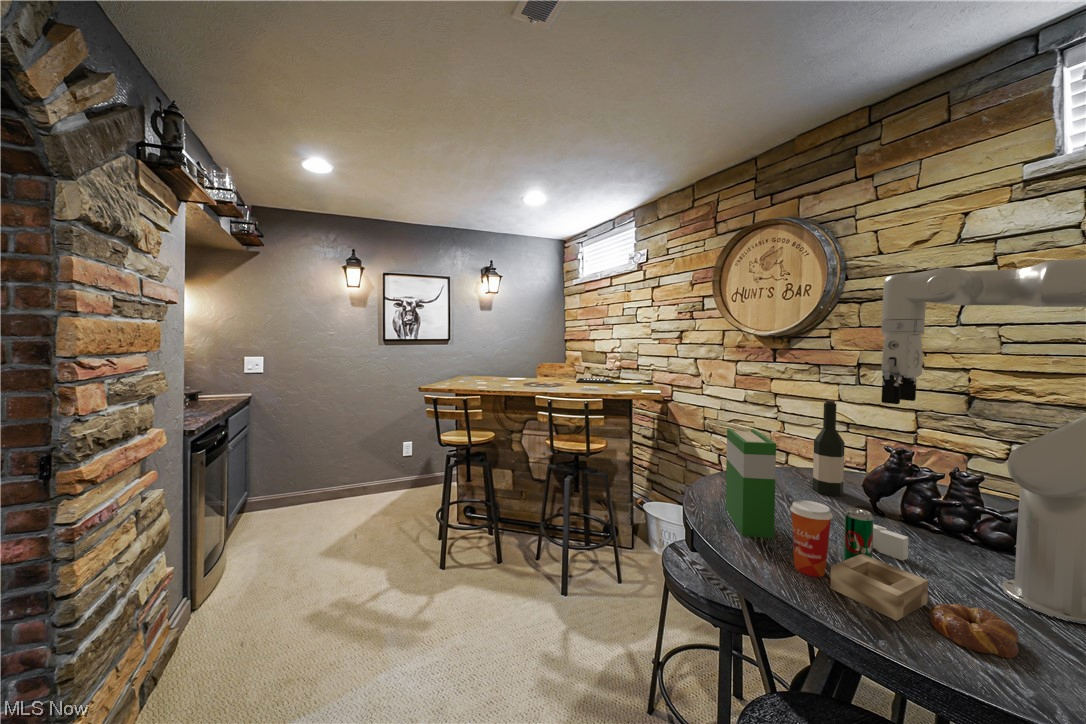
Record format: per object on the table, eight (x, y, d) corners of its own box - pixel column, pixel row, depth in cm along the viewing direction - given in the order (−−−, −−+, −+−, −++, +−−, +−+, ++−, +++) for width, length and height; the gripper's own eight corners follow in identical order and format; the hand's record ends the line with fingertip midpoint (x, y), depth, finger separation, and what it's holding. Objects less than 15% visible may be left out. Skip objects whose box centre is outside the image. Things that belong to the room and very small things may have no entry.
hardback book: (725, 508, 123) (727, 428, 122) (752, 510, 122) (754, 429, 121) (742, 535, 106) (744, 442, 105) (773, 538, 105) (776, 443, 103)
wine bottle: (806, 488, 140) (808, 399, 139) (825, 486, 143) (827, 398, 141) (830, 497, 132) (833, 403, 131) (849, 494, 135) (852, 401, 133)
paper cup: (780, 564, 92) (781, 502, 92) (805, 558, 95) (806, 497, 94) (814, 583, 85) (816, 515, 84) (840, 576, 88) (842, 510, 87)
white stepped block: (834, 535, 107) (835, 513, 107) (884, 538, 105) (884, 516, 105) (869, 565, 93) (870, 540, 92) (928, 570, 91) (928, 544, 90)
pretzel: (945, 607, 78) (945, 588, 78) (1033, 644, 68) (1034, 622, 68) (915, 627, 72) (916, 606, 72) (1006, 671, 62) (1008, 646, 62)
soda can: (862, 559, 94) (863, 507, 94) (877, 571, 89) (879, 516, 89) (838, 558, 95) (839, 506, 94) (852, 570, 90) (854, 515, 89)
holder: (927, 603, 78) (928, 580, 78) (896, 620, 73) (897, 596, 73) (861, 574, 88) (861, 553, 88) (830, 588, 83) (830, 566, 83)
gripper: (909, 327, 89) (905, 407, 90) (936, 328, 98) (932, 401, 99) (867, 327, 95) (863, 402, 96) (896, 329, 104) (893, 397, 105)
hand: (898, 401), depth 97 cm, fingers open, 9 cm apart
